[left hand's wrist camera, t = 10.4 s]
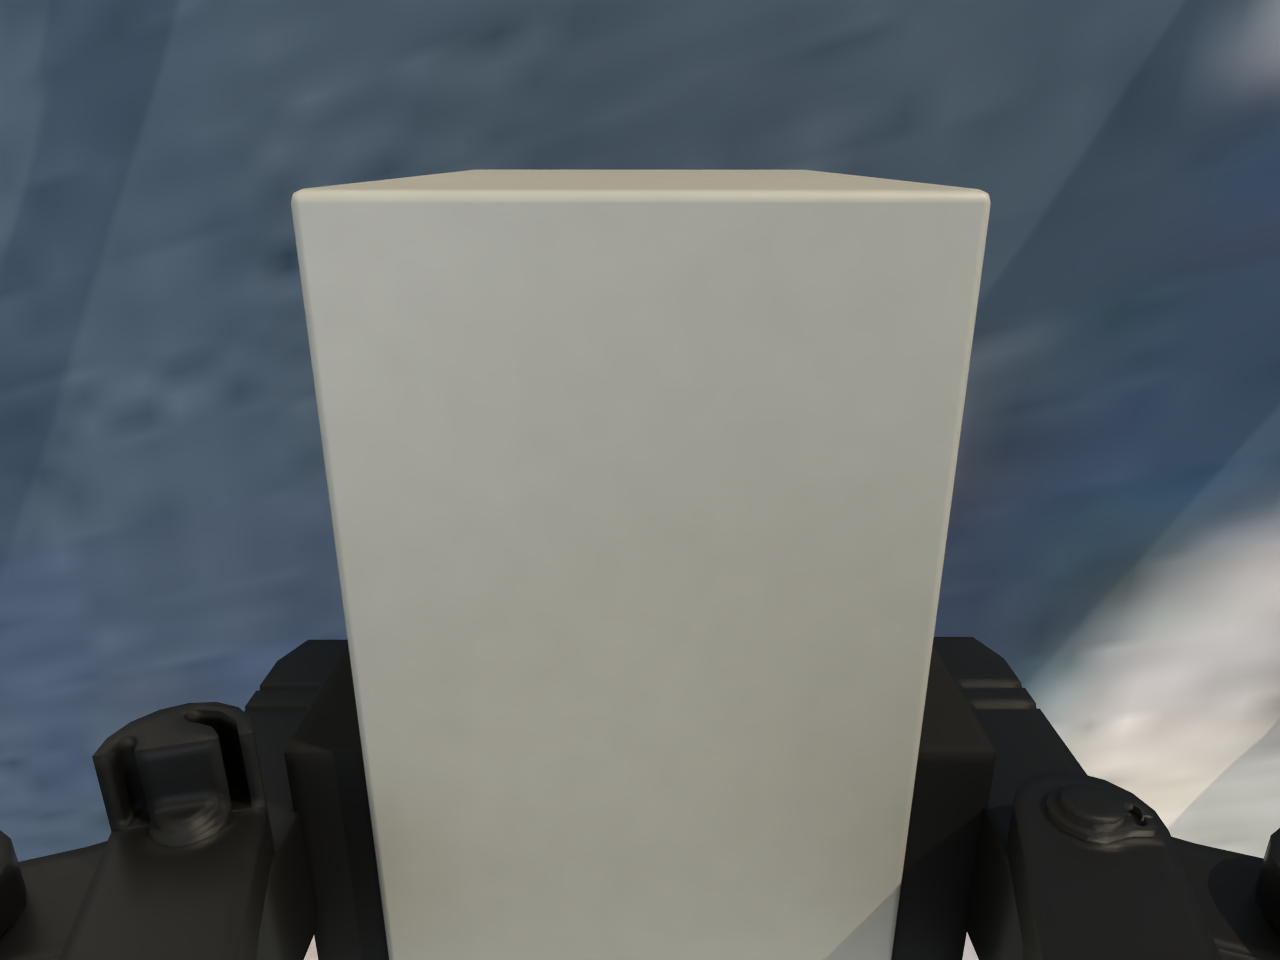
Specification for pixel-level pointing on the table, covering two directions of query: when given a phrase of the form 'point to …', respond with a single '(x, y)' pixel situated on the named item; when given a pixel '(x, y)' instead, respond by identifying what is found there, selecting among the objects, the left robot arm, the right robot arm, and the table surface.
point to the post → (640, 545)
